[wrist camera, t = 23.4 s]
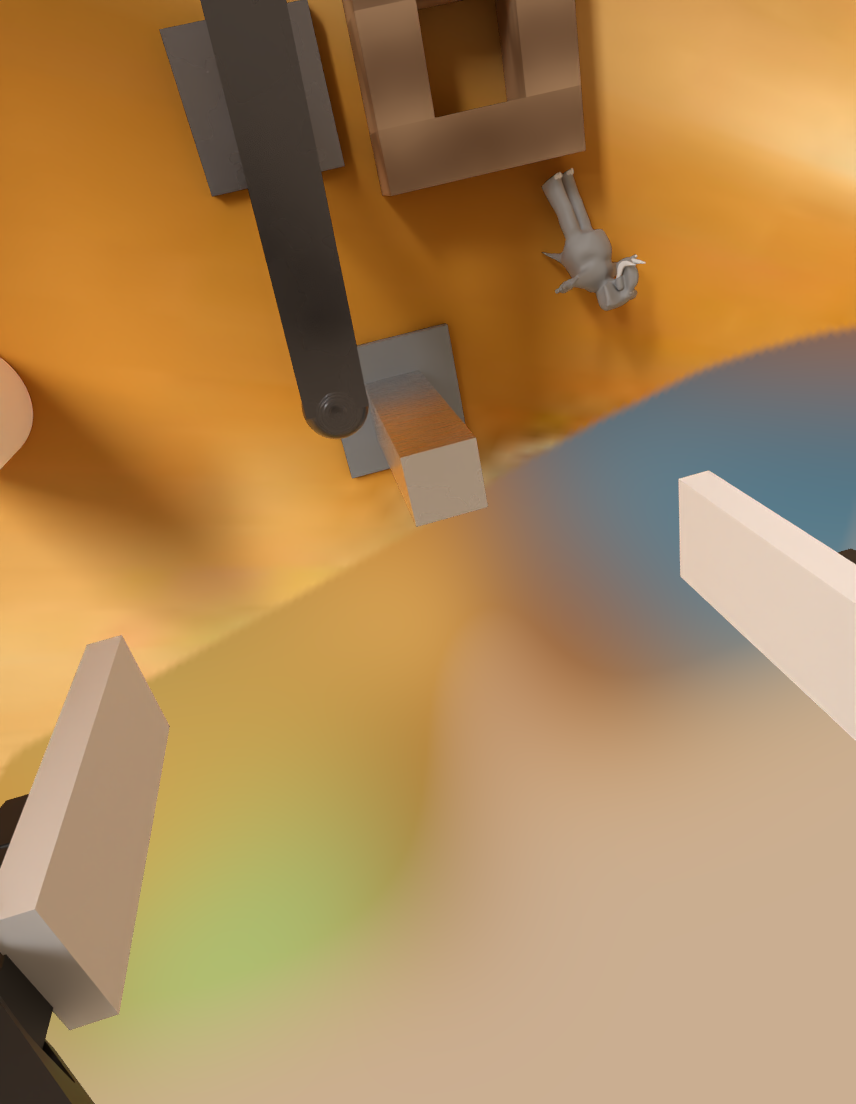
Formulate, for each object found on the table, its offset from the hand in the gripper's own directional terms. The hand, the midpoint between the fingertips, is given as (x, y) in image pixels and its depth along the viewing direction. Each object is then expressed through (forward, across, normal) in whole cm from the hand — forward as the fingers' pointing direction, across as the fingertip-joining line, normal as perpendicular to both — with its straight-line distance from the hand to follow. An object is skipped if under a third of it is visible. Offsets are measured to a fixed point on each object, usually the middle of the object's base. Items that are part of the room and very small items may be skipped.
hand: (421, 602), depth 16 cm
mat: (+35, +4, -6) cm, 35 cm away
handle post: (+35, 0, +13) cm, 37 cm away
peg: (+34, +4, -6) cm, 35 cm away
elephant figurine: (+35, +18, +1) cm, 39 cm away
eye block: (+35, +12, +13) cm, 39 cm away
